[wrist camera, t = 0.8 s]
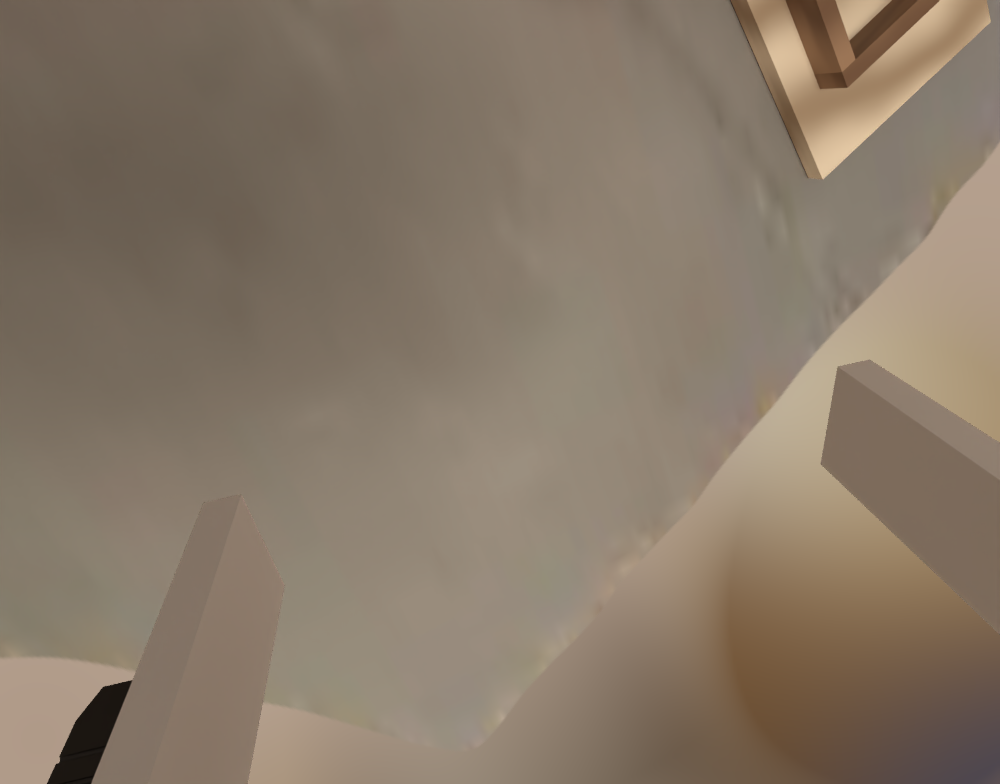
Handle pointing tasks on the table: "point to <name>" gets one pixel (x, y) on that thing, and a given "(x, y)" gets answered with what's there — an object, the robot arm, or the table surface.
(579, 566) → the table surface
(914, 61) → the collar board
